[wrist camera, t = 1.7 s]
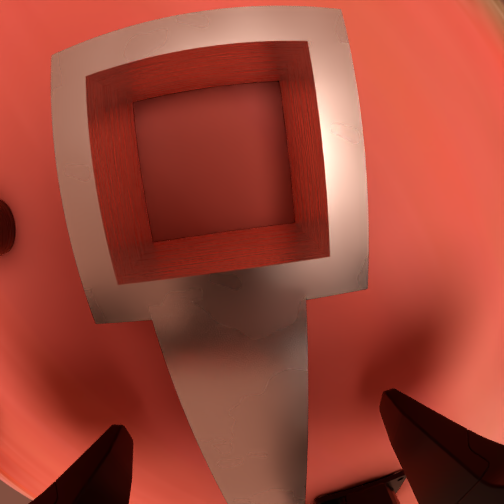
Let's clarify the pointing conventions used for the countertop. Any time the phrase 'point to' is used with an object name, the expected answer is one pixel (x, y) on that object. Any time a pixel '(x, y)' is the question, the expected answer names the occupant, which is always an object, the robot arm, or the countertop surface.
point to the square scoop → (225, 243)
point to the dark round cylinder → (6, 228)
